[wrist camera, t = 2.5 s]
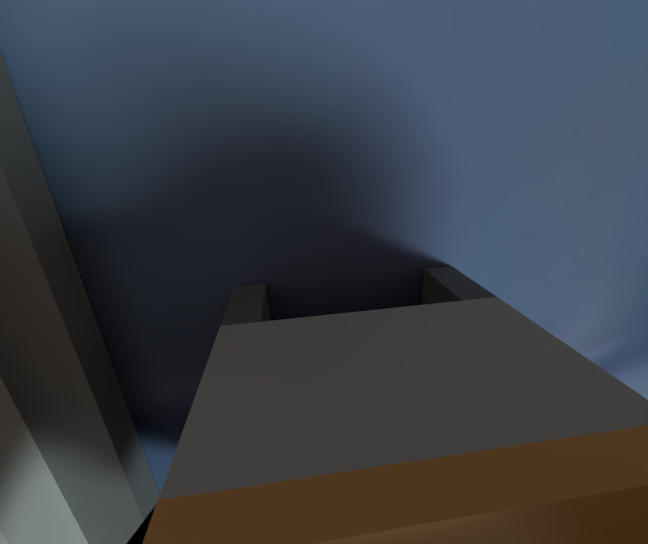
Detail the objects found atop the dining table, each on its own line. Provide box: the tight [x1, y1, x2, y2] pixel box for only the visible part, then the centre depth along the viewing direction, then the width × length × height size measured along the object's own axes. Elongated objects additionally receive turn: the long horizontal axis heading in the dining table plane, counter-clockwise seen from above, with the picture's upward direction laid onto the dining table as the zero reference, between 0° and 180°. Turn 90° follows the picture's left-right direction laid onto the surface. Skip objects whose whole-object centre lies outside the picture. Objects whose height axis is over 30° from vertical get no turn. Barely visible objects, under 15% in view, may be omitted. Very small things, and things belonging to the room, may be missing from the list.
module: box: [142, 266, 648, 544], centre depth 7 cm, size 6×6×6 cm
